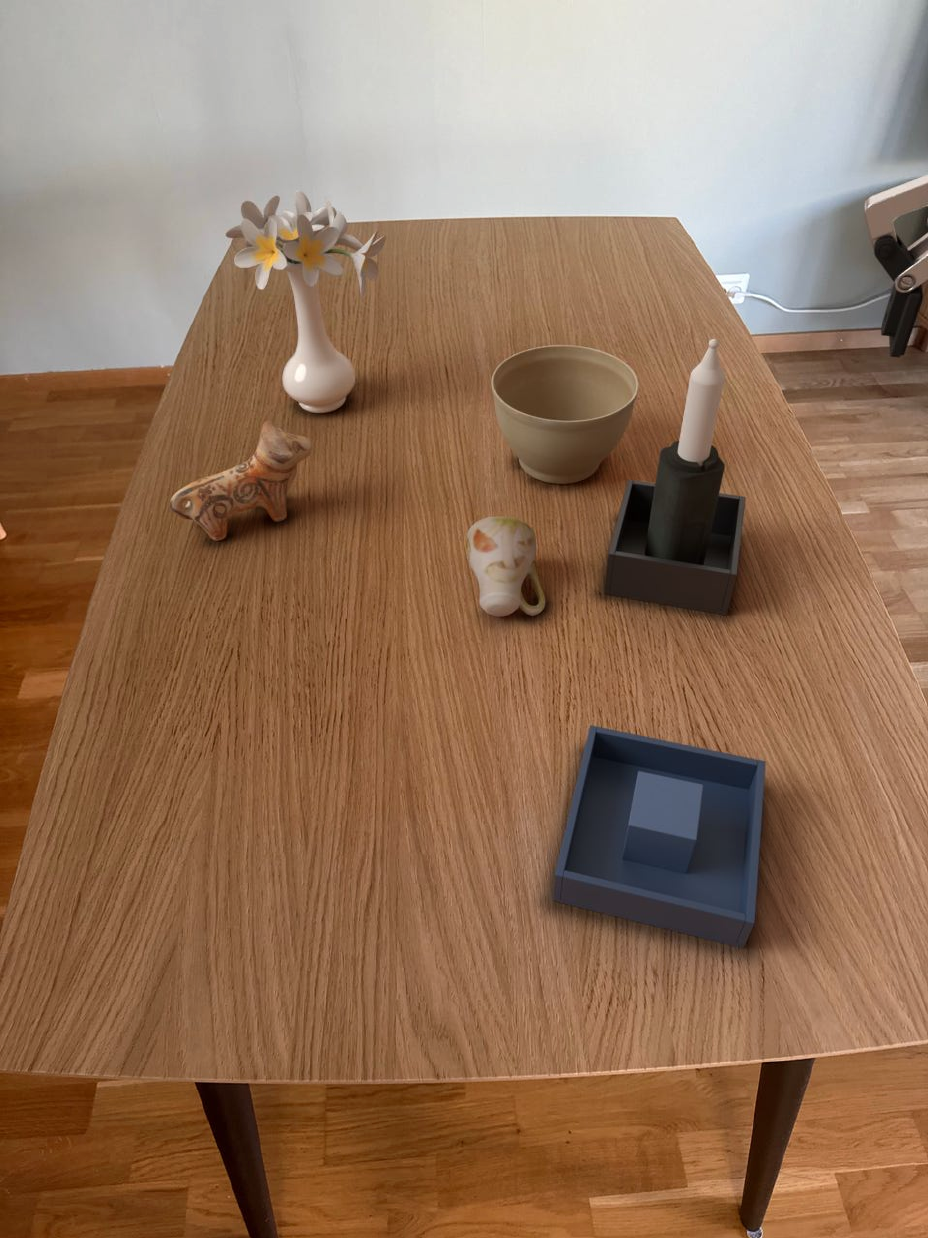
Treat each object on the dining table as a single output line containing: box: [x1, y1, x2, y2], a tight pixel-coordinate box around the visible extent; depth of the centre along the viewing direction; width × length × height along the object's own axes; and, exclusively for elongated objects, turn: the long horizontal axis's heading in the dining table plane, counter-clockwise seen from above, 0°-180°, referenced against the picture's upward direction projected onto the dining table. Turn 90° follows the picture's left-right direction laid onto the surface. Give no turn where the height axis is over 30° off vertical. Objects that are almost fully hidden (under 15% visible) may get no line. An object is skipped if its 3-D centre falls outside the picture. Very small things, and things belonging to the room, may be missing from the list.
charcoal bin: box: [603, 479, 747, 616], centre depth 93 cm, size 12×12×6 cm
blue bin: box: [552, 724, 766, 949], centre depth 71 cm, size 14×14×4 cm
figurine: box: [169, 419, 313, 542], centre depth 99 cm, size 7×16×10 cm, turn 117°
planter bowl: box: [490, 344, 640, 485], centre depth 104 cm, size 16×16×11 cm
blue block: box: [622, 771, 703, 874], centre depth 71 cm, size 5×5×5 cm
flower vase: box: [225, 189, 387, 414], centre depth 110 cm, size 13×18×25 cm
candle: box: [645, 338, 726, 565], centre depth 86 cm, size 5×5×25 cm
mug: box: [465, 515, 546, 618], centre depth 92 cm, size 8×10×10 cm
